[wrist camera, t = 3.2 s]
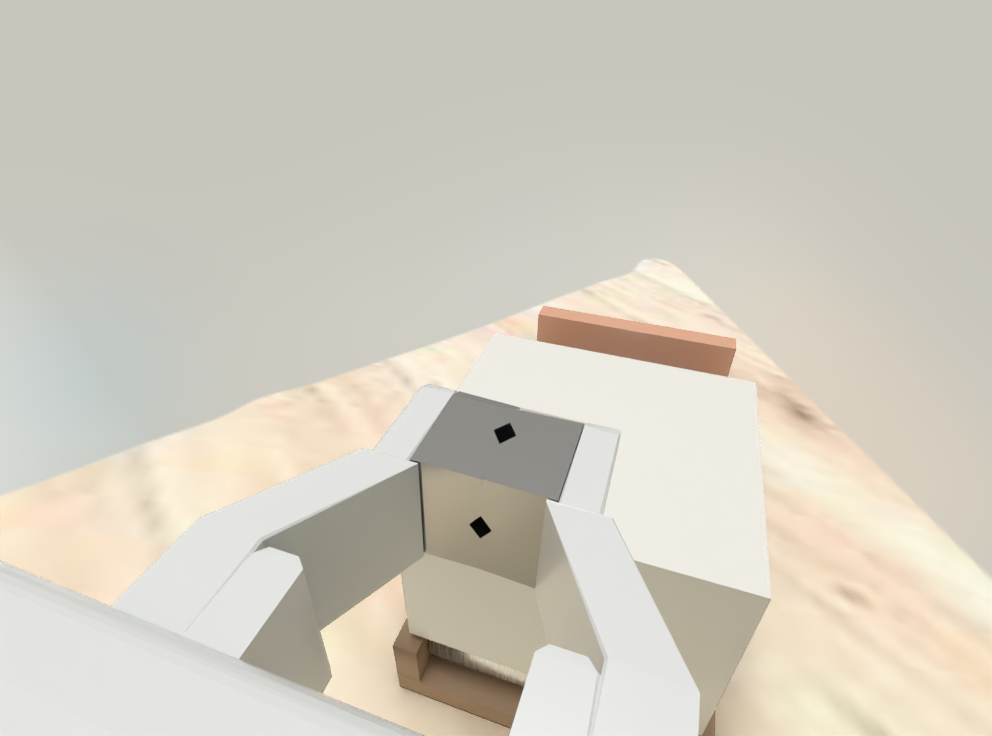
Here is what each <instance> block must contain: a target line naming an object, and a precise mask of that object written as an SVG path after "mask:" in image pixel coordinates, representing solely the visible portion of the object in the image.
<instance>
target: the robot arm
mask: <svg viewBox="0 0 992 736" xmlns="http://www.w3.org/2000/svg"><path fill="white" fill-rule="evenodd" d="M620 437H621V432H620V430H619V429H615V428H610V427H605V426H601V425H596V424H592V423H584V422H579V421H575V420H571V419H567V418H562V417H558V416H554V415H550V414H545V413H541V412H537V411H533V410H528V409H524V408H520V407H517V406H513V405H509V404H506V403H502V402H498V401H494V400H491V399H487V398H483V397H479V396H475V395H472V394H468V393H464V392H460V391H459V392H457V391H455V390H451V389H447V388H443V387H440V386H436V385H432V384H427V385H425V386H423V387H421V388H420V389H419V391H418V392H417V393H416V395H415V396H414V397H413V399H412V400H411V401H410V402H409V404H408V405H407V406H406V408H405V409H404V410H403V412H402V413H401V414H400V415H399V417H398V418H397V419H396V421H395V422H394V423H393V425H392V426H391V427H390V428H389V430H388V431H387V432H386V434H385V435H384V436H383V438H382V439H381V440H380V441H379V443H378V444H377V445H376V447H375V448H374V449H373V450H369V449H365V448H362V449H360V450H358V451H355V452H353V453H351V454H348V455H346V456H344V457H341V458H339V459H337V460H334V461H332V462H330V463H327V464H325V465H322V466H320V467H318V468H315V469H313V470H311V471H308V472H306V473H304V474H301V475H299V476H297V477H294V478H292V479H290V480H287V481H285V482H283V483H280V484H278V485H276V486H273V487H271V488H269V489H266V490H264V491H261V492H259V493H257V494H254V495H252V496H250V497H247V498H245V499H243V500H240V501H238V502H236V503H233V504H231V505H229V506H226V507H224V508H222V509H219V510H217V511H215V512H212V513H210V514H208V515H205V516H203V517H200V518H198V519H197V520H196V521H195V522H194V523H193V524H192V525H191V526H190V527H189V528H188V529H187V530H186V531H185V532H184V533H183V534H182V535H181V536H180V537H179V538H178V539H177V540H176V541H175V542H174V543H173V544H172V545H171V546H170V547H169V548H168V549H167V550H166V551H165V552H164V553H163V554H162V555H161V556H160V557H159V558H158V559H157V560H156V561H155V562H154V563H153V565H152V566H151V567H150V568H149V569H148V570H147V571H146V572H145V573H144V574H143V575H142V576H141V577H140V578H139V579H138V580H137V581H136V582H135V583H134V584H133V585H132V586H131V587H130V588H129V589H128V590H127V591H126V592H125V593H124V594H123V595H122V596H121V597H120V598H119V599H118V600H117V601H116V602H115V603H114V604H113V605H112V606H109V605H107V604H104V603H102V602H99V601H97V600H95V599H92V598H90V597H87V596H85V595H82V594H80V593H78V592H75V591H73V590H70V589H68V588H65V587H63V586H61V585H58V584H56V583H53V582H51V581H49V580H46V579H44V578H41V577H39V576H36V575H34V574H32V573H29V572H27V571H24V570H22V569H19V568H17V567H15V566H12V565H10V564H7V563H5V562H2V561H0V736H424V735H421V734H419V733H416V732H414V731H412V730H409V729H407V728H404V727H402V726H400V725H397V724H395V723H392V722H390V721H387V720H385V719H383V718H380V717H378V716H375V715H373V714H371V713H368V712H366V711H363V710H361V709H358V708H356V707H354V706H351V705H349V704H346V703H344V702H342V701H339V700H337V699H334V698H332V697H329V696H327V695H325V694H322V693H323V692H324V690H325V688H326V686H327V684H328V683H329V681H330V679H331V677H332V675H331V670H330V664H329V661H328V657H327V654H326V650H325V646H324V643H323V639H322V636H321V632H320V630H322V629H323V628H324V627H326V626H327V625H329V624H330V623H331V622H333V621H334V620H336V619H337V618H338V617H340V616H341V615H343V614H344V613H345V612H347V611H348V610H350V609H351V608H352V607H354V606H355V605H357V604H358V603H359V602H361V601H362V600H364V599H365V598H366V597H368V596H369V595H371V594H372V593H373V592H375V591H376V590H378V589H379V588H380V587H382V586H383V585H385V584H386V583H387V582H389V581H390V580H392V579H393V578H394V577H396V576H397V575H399V574H400V573H401V572H403V571H404V570H406V569H407V568H408V567H410V566H411V565H412V564H414V563H415V562H417V561H418V560H419V559H421V558H422V557H424V553H427V554H430V555H434V556H437V557H440V558H444V559H447V560H451V561H454V562H457V563H461V564H464V565H468V566H471V567H474V568H478V569H479V568H480V569H481V570H484V571H486V572H489V573H492V574H495V575H498V576H501V577H503V578H506V579H509V580H512V581H515V582H518V583H520V584H523V585H526V586H529V587H532V588H535V595H536V599H537V603H538V606H539V610H540V614H541V618H542V622H543V626H544V630H545V634H546V638H547V642H548V645H546V646H544V647H542V648H541V649H539V650H537V651H535V653H534V656H533V659H532V663H531V666H530V669H529V672H528V676H527V679H526V682H525V685H524V689H523V692H522V695H521V698H520V702H519V705H518V708H517V711H516V715H515V718H514V721H513V724H512V728H511V731H510V734H509V736H698V733H699V707H700V692H699V690H698V688H697V686H696V684H695V682H694V680H693V678H692V676H691V674H690V672H689V670H688V668H687V666H686V664H685V662H684V660H683V658H682V656H681V654H680V652H679V650H678V648H677V646H676V644H675V642H674V640H673V638H672V636H671V634H670V632H669V630H668V628H667V626H666V624H665V622H664V620H663V618H662V616H661V614H660V612H659V610H658V608H657V606H656V604H655V602H654V600H653V598H652V596H651V594H650V592H649V590H648V588H647V586H646V584H645V582H644V580H643V578H642V576H641V574H640V572H639V569H638V567H637V565H636V563H635V561H634V559H633V557H632V555H631V553H630V551H629V549H628V547H627V545H626V543H625V541H624V539H623V537H622V535H621V533H620V531H619V529H618V527H617V525H616V523H615V521H614V519H613V518H610V517H607V516H604V515H603V514H604V510H605V505H606V501H607V496H608V492H609V487H610V483H611V478H612V473H613V469H614V464H615V460H616V455H617V451H618V446H619V442H620Z"/></svg>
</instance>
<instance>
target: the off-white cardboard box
mask: <svg viewBox="0 0 992 736" xmlns="http://www.w3.org/2000/svg"><path fill="white" fill-rule="evenodd" d="M456 391H457V392H459V391H460V392H464V393H468V394H472V395H475V396H479V397H483V398H487V399H491V400H494V401H498V402H502V403H506V404H509V405H513V406H517V407H520V408H524V409H528V410H533V411H537V412H541V413H545V414H550V415H554V416H558V417H562V418H567V419H571V420H575V421H579V422H584V423H592V424H596V425H601V426H605V427H610V428H615V429H619V430H620V432H621V437H620V442H619V446H618V451H617V455H616V460H615V464H614V469H613V473H612V478H611V483H610V487H609V492H608V496H607V501H606V505H605V510H604V514H603V515H604V516H607V517H610V518H613V519H614V521H615V523H616V525H617V527H618V529H619V531H620V533H621V535H622V537H623V539H624V541H625V543H626V545H627V547H628V549H629V551H630V553H631V555H632V557H633V559H634V561H635V563H636V565H637V567H638V569H639V572H640V574H641V576H642V578H643V580H644V582H645V584H646V586H647V588H648V590H649V592H650V594H651V596H652V598H653V600H654V602H655V604H656V606H657V608H658V610H659V612H660V614H661V616H662V618H663V620H664V622H665V624H666V626H667V628H668V630H669V632H670V634H671V636H672V638H673V640H674V642H675V644H676V646H677V648H678V650H679V652H680V654H681V656H682V658H683V660H684V662H685V664H686V666H687V668H688V670H689V672H690V674H691V676H692V678H693V680H694V682H695V684H696V686H697V688H698V690H699V692H700V707H699V733H698V734H699V735H702V734H703V732H704V730H705V728H706V726H707V724H708V722H709V720H710V719H711V717H712V715H713V713H714V711H715V709H716V707H717V705H718V703H719V701H720V699H721V697H722V695H723V693H724V691H725V689H726V687H727V685H728V683H729V681H730V679H731V677H732V675H733V673H734V671H735V669H736V667H737V665H738V663H739V662H740V660H741V658H742V656H743V654H744V652H745V650H746V648H747V646H748V644H749V642H750V640H751V638H752V636H753V634H754V632H755V630H756V628H757V626H758V624H759V622H760V620H761V618H762V616H763V614H764V612H765V610H766V608H767V606H768V604H769V603H770V601H771V587H770V573H769V559H768V545H767V531H766V517H765V503H764V489H763V475H762V461H761V447H760V433H759V418H758V404H757V390H756V382H751V381H746V380H741V379H735V378H730V377H725V376H720V375H714V374H709V373H704V372H698V371H693V370H688V369H683V368H677V367H672V366H667V365H661V364H656V363H651V362H645V361H640V360H635V359H630V358H624V357H619V356H614V355H608V354H603V353H598V352H593V351H587V350H582V349H577V348H571V347H566V346H561V345H556V344H550V343H545V342H540V341H534V340H529V339H524V338H518V337H513V336H508V335H503V334H497V333H494V335H493V336H492V338H491V339H490V341H489V342H488V344H487V345H486V347H485V348H484V350H483V351H482V353H481V354H480V356H479V357H478V359H477V360H476V362H475V363H474V365H473V366H472V368H471V369H470V371H469V372H468V374H467V375H466V377H465V378H464V380H463V381H462V383H461V384H460V386H459V387H458V389H457V390H456ZM401 577H402V584H403V591H404V599H405V606H406V613H407V620H408V627H409V633H412V634H414V635H417V636H420V637H423V638H426V639H429V640H431V641H434V642H437V643H440V644H443V645H446V646H449V647H451V648H454V649H457V650H460V651H463V652H466V653H468V654H471V655H474V656H477V657H480V658H483V659H486V660H488V661H491V662H494V663H497V664H500V665H503V666H505V667H508V668H511V669H514V670H517V671H520V672H523V673H525V674H528V672H529V669H530V666H531V663H532V659H533V656H534V653H535V651H537V650H539V649H541V648H542V647H544V646H546V645H548V642H547V638H546V634H545V630H544V626H543V622H542V618H541V614H540V610H539V606H538V603H537V599H536V595H535V588H532V587H529V586H526V585H523V584H520V583H518V582H515V581H512V580H509V579H506V578H503V577H501V576H498V575H495V574H492V573H489V572H486V571H484V570H481V569H480V568H479V569H478V568H474V567H471V566H468V565H464V564H461V563H457V562H454V561H451V560H447V559H444V558H440V557H437V556H434V555H430V554H427V553H424V557H422V558H421V559H419V560H418V561H417V562H415V563H414V564H412V565H411V566H410V567H408V568H407V569H406V570H404V571H403V572H401Z"/></svg>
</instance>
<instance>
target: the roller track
mask: <svg viewBox="0 0 992 736" xmlns="http://www.w3.org/2000/svg"><path fill="white" fill-rule="evenodd" d="M537 341H540V342H545V343H550V344H556V345H561V346H566V347H571V348H577V349H582V350H587V351H593V352H598V353H603V354H608V355H614V356H619V357H624V358H630V359H635V360H640V361H645V362H651V363H656V364H661V365H667V366H672V367H677V368H683V369H688V370H693V371H698V372H704V373H709V374H714V375H720V376H725V377H728V374H729V370H730V367H731V364H732V361H733V358H734V354H735V351H736V339H734V338H728V337H722V336H716V335H710V334H704V333H699V332H693V331H687V330H681V329H675V328H669V327H664V326H658V325H652V324H646V323H640V322H634V321H629V320H623V319H617V318H611V317H605V316H599V315H594V314H588V313H582V312H576V311H570V310H564V309H559V308H553V307H547V306H543V308H542V309H541V311H540V313H539V318H538V334H537ZM393 649H394V655H395V661H396V666H397V672H398V678H399V683H400V686H401V687H404V688H406V689H409V690H412V691H414V692H417V693H419V694H422V695H425V696H427V697H430V698H433V699H435V700H438V701H440V702H443V703H446V704H448V705H451V706H454V707H456V708H459V709H461V710H464V711H467V712H469V713H472V714H475V715H477V716H480V717H482V718H485V719H488V720H490V721H493V722H496V723H498V724H501V725H504V726H506V727H509V728H512V724H513V721H514V718H515V715H516V711H517V708H518V705H519V702H520V698H521V695H522V692H523V689H524V685H525V682H526V679H527V676H528V674H525V673H523V672H520V671H517V670H514V669H511V668H508V667H505V666H503V665H500V664H497V663H494V662H491V661H488V660H486V659H483V658H480V657H477V656H474V655H471V654H468V653H466V652H463V651H460V650H457V649H454V648H451V647H449V646H446V645H443V644H440V643H437V642H434V641H431V640H429V639H426V638H423V637H420V636H417V635H414V634H412V633H409V627H408V620H407V619H406V621H405V623H404V625H403V627H402V629H401V631H400V633H399V635H398V637H397V639H396V641H395V643H394V645H393ZM698 736H715V711H714V713H713V715H712V717H711V719H710V720H709V722H708V724H707V726H706V728H705V730H704V732H703V734H702V735H699V734H698Z"/></svg>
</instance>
